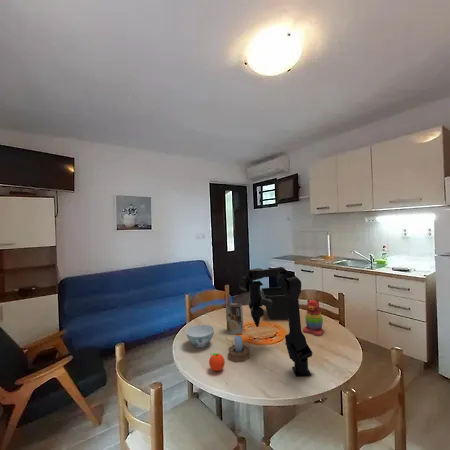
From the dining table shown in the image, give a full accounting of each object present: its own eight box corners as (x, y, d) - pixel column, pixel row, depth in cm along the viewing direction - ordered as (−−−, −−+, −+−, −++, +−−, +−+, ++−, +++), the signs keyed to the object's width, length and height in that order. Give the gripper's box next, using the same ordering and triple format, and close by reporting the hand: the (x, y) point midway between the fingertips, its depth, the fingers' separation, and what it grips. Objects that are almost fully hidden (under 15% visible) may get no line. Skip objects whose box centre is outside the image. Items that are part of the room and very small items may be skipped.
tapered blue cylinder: (242, 357, 123) (242, 339, 123) (235, 357, 123) (234, 339, 123) (242, 353, 127) (241, 335, 127) (235, 354, 127) (234, 336, 127)
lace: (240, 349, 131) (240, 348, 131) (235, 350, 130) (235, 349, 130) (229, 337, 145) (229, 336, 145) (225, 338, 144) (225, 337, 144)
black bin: (265, 322, 164) (264, 295, 163) (262, 311, 182) (261, 287, 182) (295, 321, 163) (294, 294, 162) (289, 310, 182) (288, 286, 181)
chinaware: (194, 354, 128) (193, 339, 128) (182, 343, 141) (181, 329, 140) (220, 345, 136) (219, 331, 136) (206, 335, 149) (205, 322, 149)
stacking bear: (301, 332, 147) (300, 301, 147) (308, 325, 155) (307, 296, 154) (320, 337, 140) (318, 304, 140) (326, 330, 148) (325, 299, 147)
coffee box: (244, 329, 154) (242, 303, 154) (242, 334, 148) (240, 306, 148) (229, 328, 156) (227, 302, 156) (226, 333, 150) (225, 306, 150)
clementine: (204, 369, 115) (203, 353, 115) (216, 362, 120) (215, 347, 120) (216, 376, 110) (216, 360, 109) (228, 369, 114) (227, 353, 114)
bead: (250, 361, 120) (249, 354, 120) (228, 361, 120) (228, 355, 120) (248, 350, 130) (248, 344, 130) (228, 350, 130) (228, 345, 130)
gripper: (273, 297, 124) (275, 330, 124) (267, 287, 142) (269, 315, 143) (250, 299, 124) (252, 331, 124) (247, 288, 143) (249, 316, 143)
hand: (256, 322), depth 134 cm, fingers open, 9 cm apart
